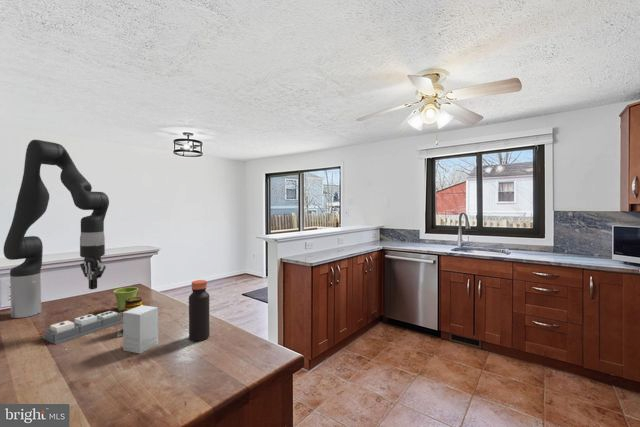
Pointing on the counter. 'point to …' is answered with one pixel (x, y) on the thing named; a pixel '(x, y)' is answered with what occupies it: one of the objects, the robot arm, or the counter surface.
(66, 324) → the tile one
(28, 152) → the robot arm
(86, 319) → the tile two
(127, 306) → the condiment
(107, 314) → the tile three
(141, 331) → the supplement box
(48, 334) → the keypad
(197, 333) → the bottle
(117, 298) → the plant pot
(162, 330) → the counter surface
